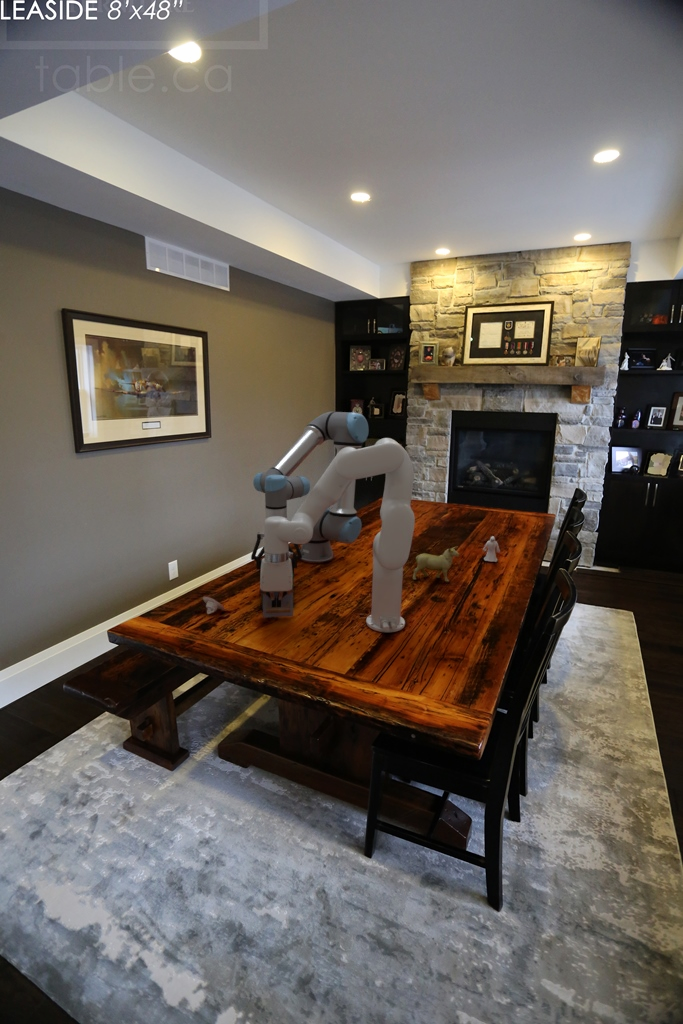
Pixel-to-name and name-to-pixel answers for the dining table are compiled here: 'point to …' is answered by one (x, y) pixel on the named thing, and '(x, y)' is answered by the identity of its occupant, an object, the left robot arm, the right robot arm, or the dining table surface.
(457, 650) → the dining table surface
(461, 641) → the dining table surface
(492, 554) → the figurine
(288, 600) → the drawer
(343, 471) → the right robot arm
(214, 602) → the seashell
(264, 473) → the left robot arm
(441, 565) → the toy
